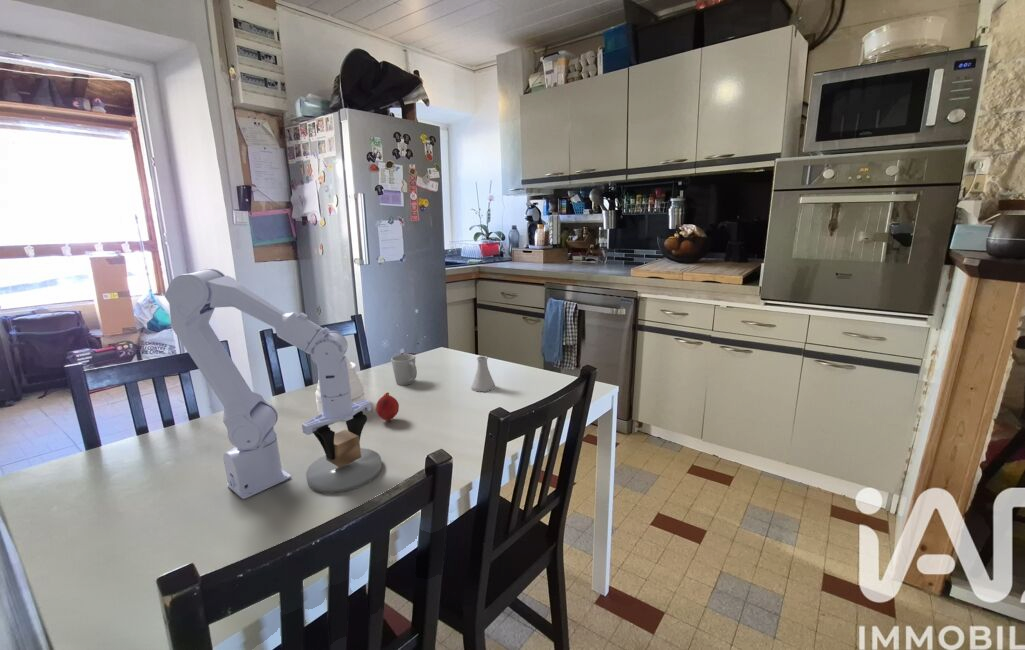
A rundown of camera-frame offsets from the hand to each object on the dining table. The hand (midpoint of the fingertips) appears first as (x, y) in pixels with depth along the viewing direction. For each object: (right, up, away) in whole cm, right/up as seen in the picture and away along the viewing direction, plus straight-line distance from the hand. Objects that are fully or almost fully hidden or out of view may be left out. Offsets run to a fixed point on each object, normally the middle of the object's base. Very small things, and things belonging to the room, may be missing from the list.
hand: (343, 452), depth 97 cm
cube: (0, -1, 0) cm, 1 cm away
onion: (+3, +1, +25) cm, 25 cm away
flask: (+27, +7, +46) cm, 54 cm away
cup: (+2, +8, +52) cm, 52 cm away
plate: (0, -4, +1) cm, 5 cm away
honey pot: (-13, +3, +35) cm, 38 cm away
